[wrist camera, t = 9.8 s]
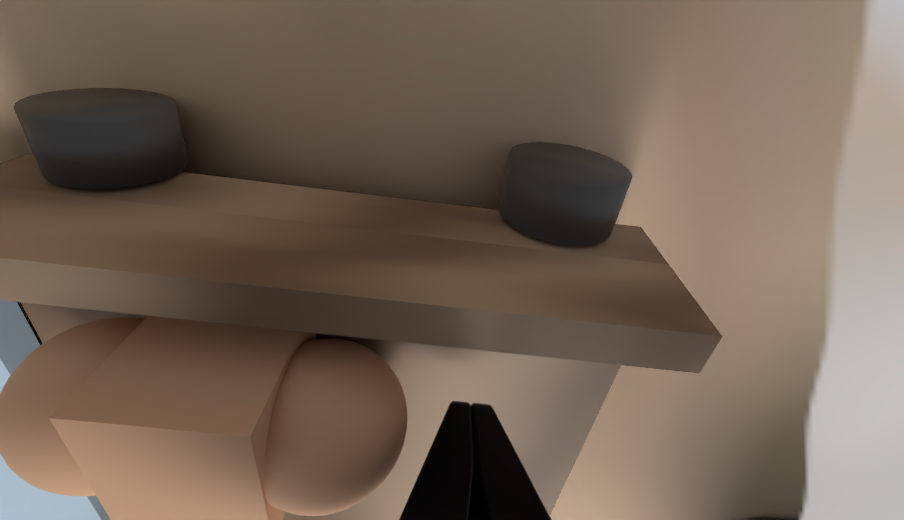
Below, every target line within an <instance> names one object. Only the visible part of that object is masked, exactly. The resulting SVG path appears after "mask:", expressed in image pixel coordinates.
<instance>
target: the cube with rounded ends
mask: <svg viewBox="0 0 904 520" xmlns="http://www.w3.org/2000/svg"><path fill="white" fill-rule="evenodd" d="M406 431H407V405H406V400H405V396H404V392H403V389H402V387H401V384H400V382H399V380H398V378H397V376H396V374H395V373H394V371H393V370H392V369H391V367H390V366H389V365H388V364H387V363H386V361H385V360H383V359H382V358H381V357H380V356H379V355H377V354H376V353H375V352H373V351H372V350H370V349H369V348H367V347H365V346H363V345H361V344H358V343H355V342H352V341H348V340H343V339H334V338H328V339H317V340H316V333H310V332H301V331H291V330H281V329H272V328H262V327H253V326H243V325H234V324H224V323H214V322H205V321H195V320H186V319H176V318H166V317H157V316H147V317H146V318H145V319H142V318H131V317H117V318H108V319H101V320H95V321H92V322H88V323H84V324H81V325H78V326H75V327H73V328H70V329H68V330H66V331H64V332H62V333H60V334H58V335H56V336H54V337H52V338H51V339H49V340H47V341H46V342H44V343H43V344H42V345H40V346H39V347H38V348H36V349H35V350H34V351H32V352H31V353H30V354H29V355H28V356H27V357H26V358H25V359H24V360H23V361H22V362H21V363H20V364H19V365H18V367H17V368H16V369H15V371H14V372H13V373H12V374H11V376H10V377H9V378H8V380H7V382H6V384H5V385H4V387H3V389H2V391H1V394H0V454H1V456H2V457H3V459H4V461H5V462H6V464H7V465H8V467H9V468H10V469H11V470H12V471H13V472H14V473H15V474H17V475H18V476H19V477H20V478H21V479H22V480H24V481H25V482H27V483H29V484H30V485H32V486H34V487H36V488H39V489H41V490H44V491H47V492H50V493H54V494H59V495H66V496H81V497H82V496H95V495H96V496H97V498H98V500H99V501H100V503H101V504H102V506H103V508H104V509H105V511H106V513H107V514H108V516H109V518H110V519H111V520H283V518H284V515H285V512H288V513H291V514H296V515H302V516H323V515H329V514H333V513H336V512H340V511H343V510H345V509H348V508H349V507H351V506H353V505H355V504H357V503H359V502H361V501H362V500H364V499H365V498H366V497H368V496H369V495H370V494H372V493H373V492H374V491H375V490H376V489H377V488H378V487H379V486H380V485H381V484H382V483H383V482H384V480H385V479H386V478H387V476H388V475H389V474H390V472H391V471H392V469H393V468H394V466H395V464H396V462H397V460H398V458H399V456H400V453H401V451H402V448H403V445H404V441H405V436H406Z"/></svg>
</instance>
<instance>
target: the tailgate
mask: <svg viewBox="0 0 904 520" xmlns="http://www.w3.org/2000/svg"><path fill="white" fill-rule="evenodd" d="M39 346H40V344H39V342H38V340H37V338H36V336H35V335H34V333H33V331H32V329H31V327H30V325H29V324H28V322H27V320H26V318H25V316H24V314H23V313H22V311H21V309H20V307H19V305H18V303H17V302H13V301H4V300H0V394H1V391H2V389H3V387H4V385H5V384H6V382H7V380H8V378H9V377H10V376H11V374H12V373H13V372H14V371H15V369H16V368H17V367H18V365H19V364H20V363H21V362H22V361H23V360H24V359H25V358H26V357H27V356H28V355H29V354H30V353H31V352H32V351H34V350H35V349H36V348H38V347H39ZM0 520H111V519H110V518H109V516H108V514H107V513H106V511H105V509H104V508H103V506H102V504H101V503H100V501H99V500H98V498H97V496H96V495H95V496H82V497H81V496H66V495H59V494H54V493H50V492H47V491H44V490H41V489H39V488H36V487H34V486H32V485H30V484H29V483H27V482H25V481H24V480H22V479H21V478H20V477H19V476H18V475H17V474H15V473H14V472H13V471H12V470H11V469H10V468H9V467H8V465H7V464H6V462H5V461H4V459H3V457H2V456H1V454H0Z"/></svg>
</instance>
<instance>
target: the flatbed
mask: <svg viewBox="0 0 904 520" xmlns="http://www.w3.org/2000/svg"><path fill="white" fill-rule="evenodd" d="M14 109H15V111H16V114H17V116H18V119H19V121H20V123H21V126H22V128H23V131H24V133H25V135H26V138H27V140H28V142H29V145H30V147H31V150H32V152H33V154H26V155H24V156H21V157H18V158H16V159H13V160H10V161H8V162H5V163H2V164H0V300H4V301H13V302H21V304H22V306H23V308H24V310H25V311H26V313H27V315H28V317H29V319H30V321H31V323H32V324H33V326H34V328H35V330H36V332H37V334H38V336H39V337H40V339H41V341H42V343H44V342H46V341H47V340H49V339H51V338H52V337H54V336H56V335H58V334H60V333H62V332H64V331H66V330H68V329H70V328H73V327H75V326H78V325H81V324H84V323H88V322H92V321H95V320H101V319H108V318H117V317H131V318H142V319H145V318H146V317H147V316H157V317H166V318H176V319H186V320H195V321H205V322H214V323H224V324H234V325H243V326H253V327H262V328H272V329H281V330H291V331H301V332H310V333H316V340H317V339H328V338H334V339H343V340H348V341H352V342H355V343H358V344H361V345H363V346H365V347H367V348H369V349H370V350H372V351H373V352H375V353H376V354H377V355H379V356H380V357H381V358H382V359H383V360H385V361H386V363H387V364H388V365H389V366H390V367H391V369H392V370H393V371H394V373H395V374H396V376H397V378H398V380H399V382H400V384H401V387H402V389H403V392H404V396H405V400H406V405H407V431H406V436H405V441H404V445H403V448H402V451H401V453H400V456H399V458H398V460H397V462H396V464H395V466H394V468H393V469H392V471H391V472H390V474H389V475H388V476H387V478H386V479H385V480H384V482H383V483H382V484H381V485H380V486H379V487H378V488H377V489H376V490H375V491H374V492H373V493H372V494H370V495H369V496H368V497H366V498H365V499H364V500H362V501H361V502H359V503H357V504H355V505H353V506H351V507H349V508H348V509H345V510H343V511H340V512H336V513H333V514H329V515H323V516H302V515H296V514H291V513H288V512H285V515H284V518H283V520H399V519H400V516H401V514H402V512H403V509H404V507H405V505H406V503H407V500H408V498H409V496H410V493H411V491H412V489H413V487H414V484H415V482H416V480H417V477H418V475H419V473H420V471H421V468H422V466H423V464H424V461H425V459H426V457H427V454H428V452H429V450H430V448H431V445H432V443H433V441H434V438H435V436H436V434H437V432H438V429H439V427H440V425H441V422H442V420H443V418H444V416H445V413H446V411H447V409H448V406H449V404H450V403H451V402H452V401H461V402H468V403H470V405H471V404H472V403H482V404H489V405H491V406H492V407H493V409H494V411H495V413H496V415H497V417H498V418H499V420H500V422H501V424H502V426H503V428H504V430H505V432H506V434H507V436H508V438H509V439H510V441H511V443H512V445H513V447H514V449H515V451H516V453H517V455H518V457H519V459H520V460H521V462H522V464H523V466H524V468H525V470H526V472H527V474H528V476H529V478H530V480H531V481H532V483H533V485H534V487H535V489H536V491H537V493H538V495H539V497H540V499H541V501H542V502H543V504H544V506H545V508H546V510H547V512H548V514H549V516H550V514H551V512H552V510H553V508H554V505H555V503H556V501H557V499H558V497H559V495H560V493H561V491H562V488H563V486H564V484H565V482H566V480H567V478H568V476H569V474H570V472H571V469H572V467H573V465H574V463H575V461H576V459H577V457H578V455H579V452H580V450H581V448H582V446H583V444H584V442H585V440H586V438H587V436H588V433H589V431H590V429H591V427H592V425H593V423H594V421H595V419H596V416H597V414H598V412H599V410H600V408H601V406H602V404H603V402H604V400H605V397H606V395H607V393H608V391H609V389H610V387H611V385H612V383H613V380H614V378H615V376H616V374H617V372H618V370H619V368H620V366H621V365H626V366H636V367H646V368H655V369H665V370H674V371H684V372H694V373H700V371H701V370H702V368H703V366H704V365H705V363H706V362H707V360H708V358H709V357H710V355H711V354H712V352H713V350H714V349H715V347H716V346H717V344H718V342H719V341H720V339H721V337H722V335H721V334H720V333H719V331H718V330H717V329H716V327H715V326H714V325H713V323H712V322H711V321H710V319H709V318H708V317H707V315H706V314H705V313H704V311H703V310H702V309H701V307H700V306H699V305H698V303H697V302H696V301H695V299H694V298H693V297H692V295H691V294H690V293H689V291H688V290H687V289H686V287H685V286H684V284H683V283H682V282H681V280H680V279H679V278H678V276H677V275H676V274H675V272H674V271H673V270H672V268H671V267H670V266H669V264H668V263H667V262H666V260H665V259H664V258H663V256H662V255H661V254H660V252H659V251H658V250H657V248H656V247H655V246H654V244H653V243H652V242H651V240H650V239H649V238H648V236H647V235H646V234H645V232H644V231H643V229H642V228H641V227H636V226H627V225H619V224H615V222H616V220H617V217H618V214H619V211H620V209H621V206H622V203H623V201H624V198H625V195H626V192H627V190H628V187H629V184H630V182H631V179H632V175H631V173H630V171H629V170H628V169H627V168H626V167H625V166H623V165H622V164H620V163H619V162H617V161H615V160H613V159H611V158H609V157H607V156H604V155H602V154H599V153H596V152H593V151H589V150H586V149H582V148H578V147H574V146H568V145H562V144H555V143H525V144H520V145H517V146H515V147H513V148H512V149H511V150H510V153H509V158H508V163H507V168H506V173H505V178H504V183H503V188H502V193H501V198H500V203H499V210H494V209H486V208H477V207H469V206H461V205H452V204H444V203H436V202H427V201H419V200H410V199H402V198H394V197H385V196H377V195H369V194H360V193H352V192H344V191H335V190H327V189H319V188H310V187H302V186H294V185H285V184H277V183H269V182H260V181H252V180H244V179H235V178H227V177H219V176H210V175H202V174H194V173H185V172H180V171H182V170H183V169H184V168H185V167H186V166H187V164H188V157H187V152H186V148H185V143H184V139H183V134H182V130H181V125H180V121H179V116H178V112H177V107H176V103H175V101H174V100H173V99H172V98H170V97H168V96H165V95H162V94H158V93H154V92H148V91H141V90H132V89H115V88H90V89H72V90H62V91H54V92H48V93H42V94H37V95H33V96H30V97H27V98H24V99H22V100H20V101H18V102H17V103H15V105H14Z"/></svg>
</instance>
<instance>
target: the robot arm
mask: <svg viewBox="0 0 904 520" xmlns="http://www.w3.org/2000/svg"><path fill="white" fill-rule="evenodd" d="M399 520H551V518H550V516H549V514H548V512H547V510H546V508H545V506H544V504H543V502H542V501H541V499H540V497H539V495H538V493H537V491H536V489H535V487H534V485H533V483H532V481H531V480H530V478H529V476H528V474H527V472H526V470H525V468H524V466H523V464H522V462H521V460H520V459H519V457H518V455H517V453H516V451H515V449H514V447H513V445H512V443H511V441H510V439H509V438H508V436H507V434H506V432H505V430H504V428H503V426H502V424H501V422H500V420H499V418H498V417H497V415H496V413H495V411H494V409H493V407H492V406H491V405H489V404H482V403H472V404H471V405H470V403H468V402H461V401H452V402H451V403H450V404H449V406H448V409H447V411H446V413H445V416H444V418H443V420H442V422H441V425H440V427H439V429H438V432H437V434H436V436H435V438H434V441H433V443H432V445H431V448H430V450H429V452H428V454H427V457H426V459H425V461H424V464H423V466H422V468H421V471H420V473H419V475H418V477H417V480H416V482H415V484H414V487H413V489H412V491H411V493H410V496H409V498H408V500H407V503H406V505H405V507H404V509H403V512H402V514H401V516H400V519H399Z"/></svg>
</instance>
